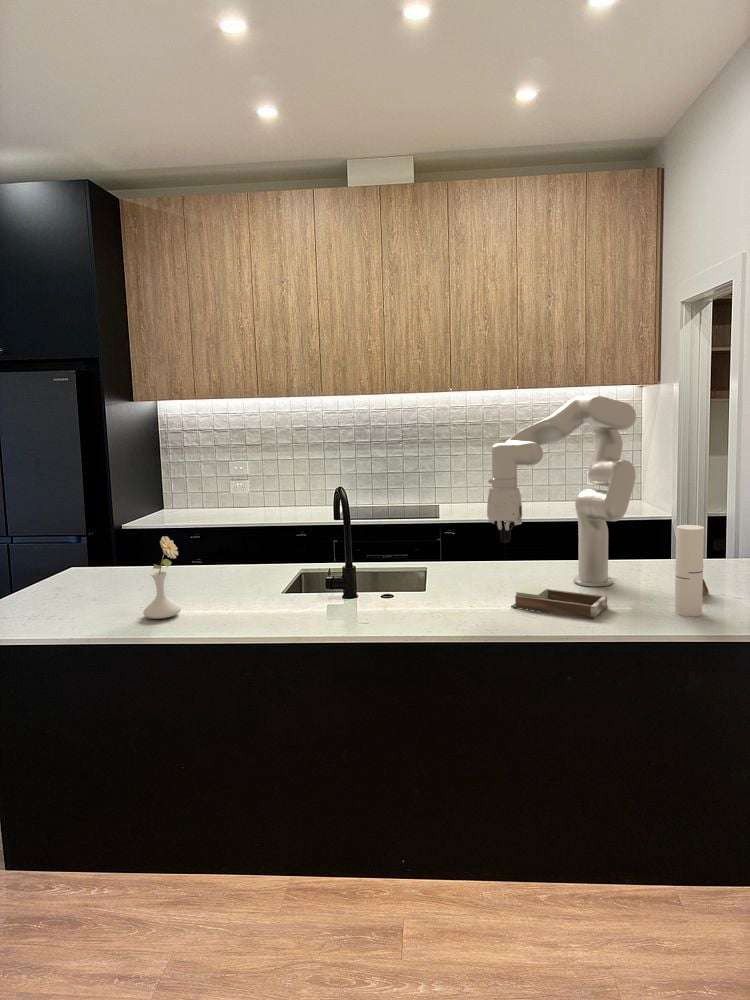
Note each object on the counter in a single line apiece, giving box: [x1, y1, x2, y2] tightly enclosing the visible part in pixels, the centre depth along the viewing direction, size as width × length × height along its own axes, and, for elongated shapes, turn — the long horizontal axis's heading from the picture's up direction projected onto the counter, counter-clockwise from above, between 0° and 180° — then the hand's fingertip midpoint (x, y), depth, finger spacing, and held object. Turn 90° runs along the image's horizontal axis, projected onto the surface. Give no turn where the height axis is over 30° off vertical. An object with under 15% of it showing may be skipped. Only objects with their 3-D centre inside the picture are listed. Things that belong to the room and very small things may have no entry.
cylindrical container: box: [674, 524, 705, 617], centre depth 204 cm, size 7×7×25 cm
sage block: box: [515, 585, 549, 599], centre depth 220 cm, size 8×7×4 cm
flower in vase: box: [143, 535, 182, 620], centre depth 223 cm, size 13×11×25 cm
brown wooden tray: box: [510, 588, 608, 621], centre depth 215 cm, size 13×25×4 cm, turn 55°
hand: (505, 542), depth 222 cm, fingers closed
